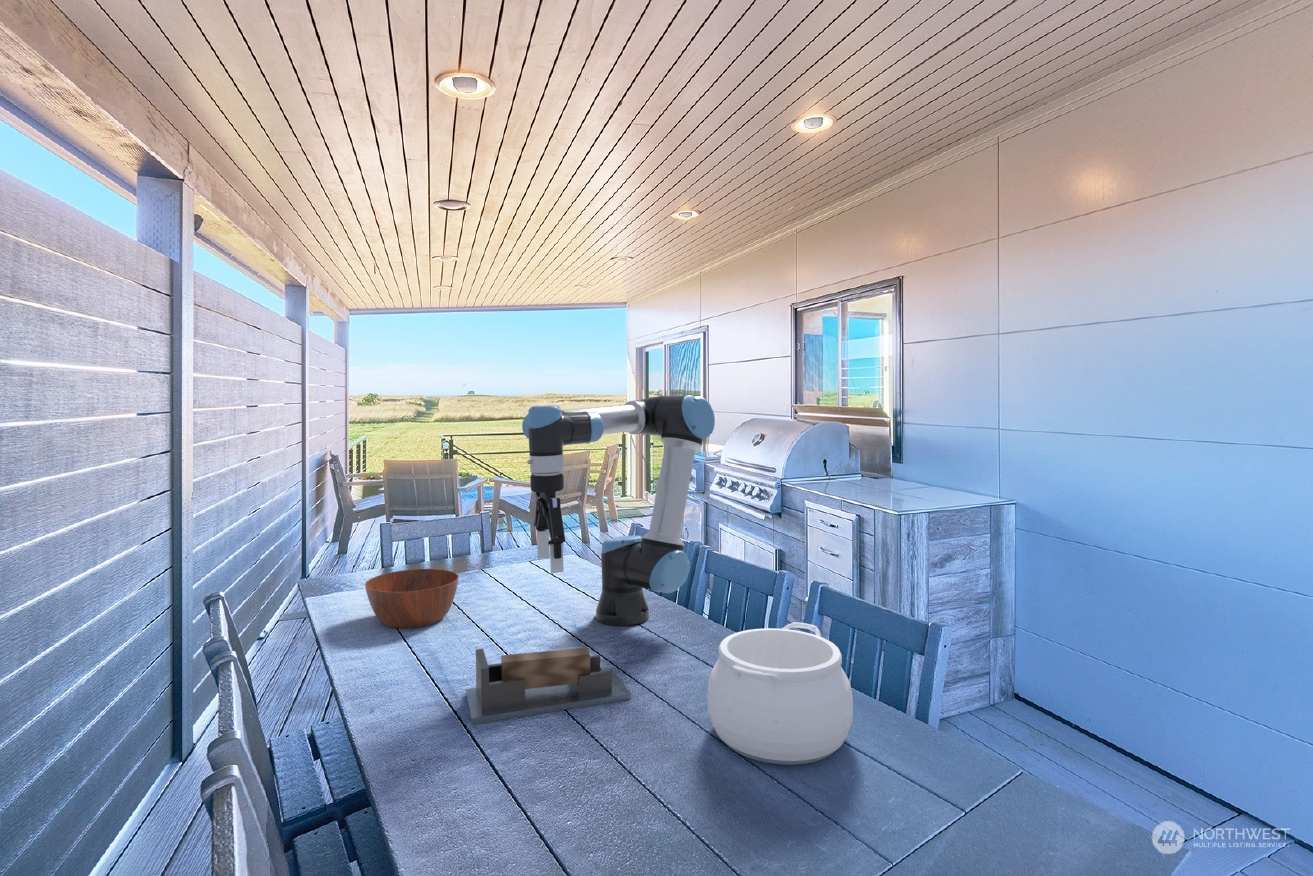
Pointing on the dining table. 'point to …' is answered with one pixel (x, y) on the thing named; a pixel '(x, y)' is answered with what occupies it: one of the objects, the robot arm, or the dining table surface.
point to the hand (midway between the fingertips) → (550, 565)
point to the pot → (780, 695)
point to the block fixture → (537, 692)
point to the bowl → (412, 596)
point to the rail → (546, 667)
